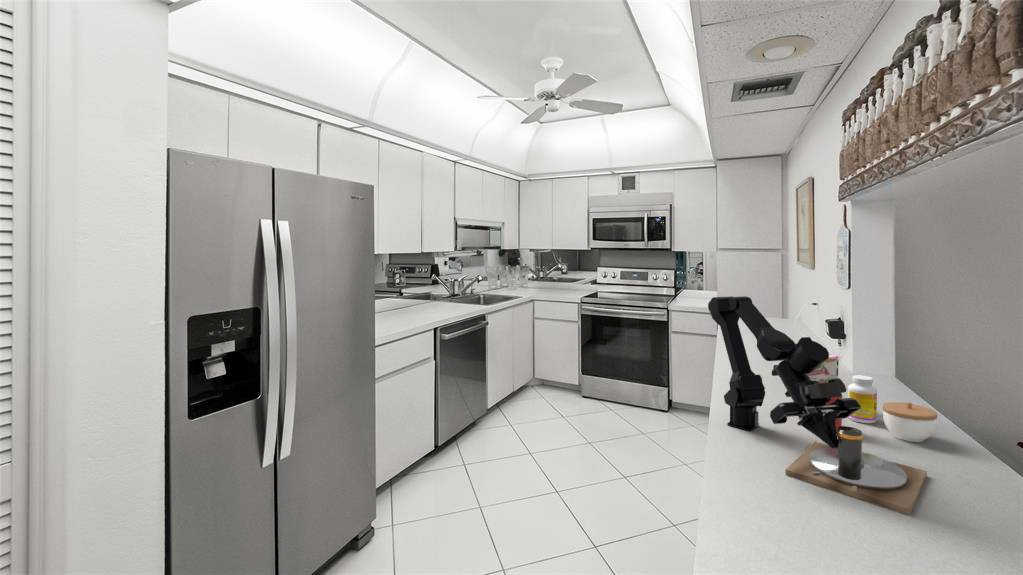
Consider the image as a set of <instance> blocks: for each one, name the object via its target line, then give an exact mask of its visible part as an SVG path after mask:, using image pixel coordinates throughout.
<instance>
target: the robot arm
mask: <svg viewBox="0 0 1023 575" xmlns="http://www.w3.org/2000/svg"><path fill="white" fill-rule="evenodd" d="M707 308H708V309H707V310H708V311H709V312H710V315H711V319H712V320H713V321H714V322H715V323H716V324H717V326H720V330H721V334H722V338H723V342H724V345H725V350H726V352H727V357H728V360H729V364H730V368H731V371H732V373H731V376H730V379H729V390H727V392H726V393H725V394H724V395H723V398H724V399H723V400H724V403H725V405H728V406H729V421H728V422H727V423H726V424H727V426H731V427H733V428H736V429H741V430H745V431H748V432H751V431H753V430H754V429H756V428H758V427H759V426H760V423H759V411H758V409H757V407H762V406H763V403H764V399H765V398H766V397H765V396H766V387H765V386H764V382H763V377H762V376H761V375H760V374H756V373H755V372H754V371H753V370H752V368H751V365H750V361H749V358H748V354H747V351H746V350H747V349H746V347H745V344H744V340H743V337H742V333H741V330H740V329H741V328H740V326H739V321H740V320H741V321H742V322H743V323H744V324H745V326H746V327H747V328H748V329H749V331H750V333H751V334H752V335H753V337H754V338H755V340H756V348H757V350H758V352H759V354H760V355H761V357H762V358H763V359H764V360H765V361H767V362H779V363H778V364H774V365H773V369H772V370H771V376H772V377H779V378H780V379H781V382H782V384H783V385H784V387H785V390H786V391H785V393H784V395H785V397H786V398H791V400H792V401H790V402H780V403H778V405H776V406H775V407H774V408H773V409H772V410H770V413H769V418H770V419H771V421H772V423H773V425H777V424H778V425H781V424H786V423H787V421H788V418H789V417H798V420H799V421H798V422H796V424H797V426H801V427H803V428H804V429H806V430H807V431H808V432H811V433H812V434H813V435H814V436H816V437H817V438H819V439H820V440H821V441H822V442H824V444H826V445H829V446H830V447H831V448H838V435H837V434H838V432H836V426H835V420H836V419H842V420H845V419H847V418H848V417H849V416H850V415H852V414H853V413H855V412H856V411H858V410H859V409H861V406H860V405H859V403H858V402H857V400H856V399H853V398H848V397H845V398H844V397H843V393H846V392H847V386H846V385H845V384H846V383H844V382H843V381H842V379H841V378H840V377H838V378H837V379H831V380H828V383H819V382H817V381H812V380H811V379H810V377H809V375H808V374H809V373H812V372H814V371H815V370H816V369H817V368H818V367H819V366H820V365H822V364H823V363H824V362H825V361H826V360H827V359H828V358H829V355H830V353H829V350H828V349H827V348H826V347H825V346H823V345H822V344H821V343H819V342H817V341H814V340H812V338H811V337H810V336H806V337H805V336H804V337H801V338H800V339H799V340H798V342H797V343H796V342H795V341H794V340H793V339H792V338H791V337H790V336H788V335H787V334H786V333H784V332H783V331H780V330H777V329H776V328H775V327H773V325H772V324H771V323H770V322H769V321H768V320H767V319H766V317H765V316H764V315H763V314H762V312H760V310H759V309H758V307H756V306H755V304H754V303H753V300H752V298H751V297H750V296H744V295H743V296H732V295H731V296H715V297H712V298H711V299H710V301H708V303H707ZM836 396H838V397H842V398H841V399H837V400H835V401H834V402H833V403H831V404H830V405H826V404H825V403H826V402H829V401H831V398H830V397H836Z"/></svg>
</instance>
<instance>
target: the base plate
mask: <svg viewBox="0 0 1023 575" xmlns="http://www.w3.org/2000/svg"><path fill="white" fill-rule="evenodd" d="M820 448H831V447H830V446H829V445H827V444H826V443H821V442H817V441H814V442H813V443H812V444H811V445H809V447H807V448H806V449H805V450H804V451H803V452H802V453H801V454H800V455H799V456H798V457H797V458H796V459H795V460H794V461H793V462H792V463H791V464H790V465H789V466H788V467H787V468H785V476H789V477H792V478H795V479H797V480H801V481H803V482H807V483H810V484H813V485H816V486H820V487H822V488H825V489H828V490H831V491H834V492H838V493H840V494H844V495H846V496H850V497H853V498H856V499H858V500H862V501H864V502H868V503H871V504H874V505H878V506H879V507H884V508H887V509H889V510H892V511H896V512H898V511H899V512H898V513H902V514H905V515H909V516H911V514H912V512H913V509H914V507H915V505H916V502H917V500H918V498H919V495H920V493H921V491H922V488H923V486H924V484H925V482H926V479H927V477H928V471H927V470H924V469H920V468H916V467H913V466H909V465H906V464H901V463H898V462H894V461H890V460H889V461H890V462H892V463H893V464H895V465H897V466H898V467H900V468H901V469H902V470H903V471H904V472H905V473H906V475H907V483H906V485H905V486H904V487H903V488H901V489H897V490H887V491H885V490H871V489H865V488H860V487H857V486H851V485H848V484H844V483H841V482H838V481H836V480H833V479H831V478H829V477H827V476H825V475H823V474H821V473H820V472H818V471H816V470H815V469H814V468H813V467H812V466H811V464H810V462H809V454H810V453H811V452H812V451H814V450H816V449H820Z"/></svg>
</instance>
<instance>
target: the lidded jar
mask: <svg viewBox="0 0 1023 575" xmlns="http://www.w3.org/2000/svg"><path fill="white" fill-rule="evenodd" d="M882 417H883V423H884V426H885V427H886V428H887V430H889V432H890V433H891V434H892V435H893V437H895V438H897V439H900V440H903V441H906V442H913V443H921V442H924V441H925V440H927V439H929V438H930V437H931V436H932V435H933V434H934V432H935V431H936V427H937V418H938V412H936V410H934V409H931V408H929V407H926V406H922V405H918V404H913V403H912V402H908V401H907V402H896V401H893V402H892V401H891V402H890V401H889V402H885V403H883V404H882Z"/></svg>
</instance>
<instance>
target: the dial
mask: <svg viewBox="0 0 1023 575" xmlns="http://www.w3.org/2000/svg"><path fill="white" fill-rule="evenodd" d="M863 435H864V434H863V431H862V430H860V429H858V428H856V427H852V426H847V425H843V426H841V427H838V432H837V437H838V448H820V449H816V450H814V451H812V452H811V453H810V454H809V462H810V464H811V466H812V467H813V468H814V469H815V470H816V471H818V472H820V473H821V474H823V475H825V476H827V477H829V478H831V479H833V480H836V481H838V482H841V483H844V484H848V485H851V486H857V487H860V488H865V489H871V490H885V491H887V490H897V489H901V488H903V487H904V486H905V485H906V483H907V475H906V473H905V472H904V471H903V470H902V469H901V468H900V467H898V466H897V465H895V464H893V463H892V462H893V461H891V462H890V460H887V459H885V458H882V457H880V456H876V455H873V454H871V453H867V452H864V451H863V448H862V447H863V438H864V436H863Z"/></svg>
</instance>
